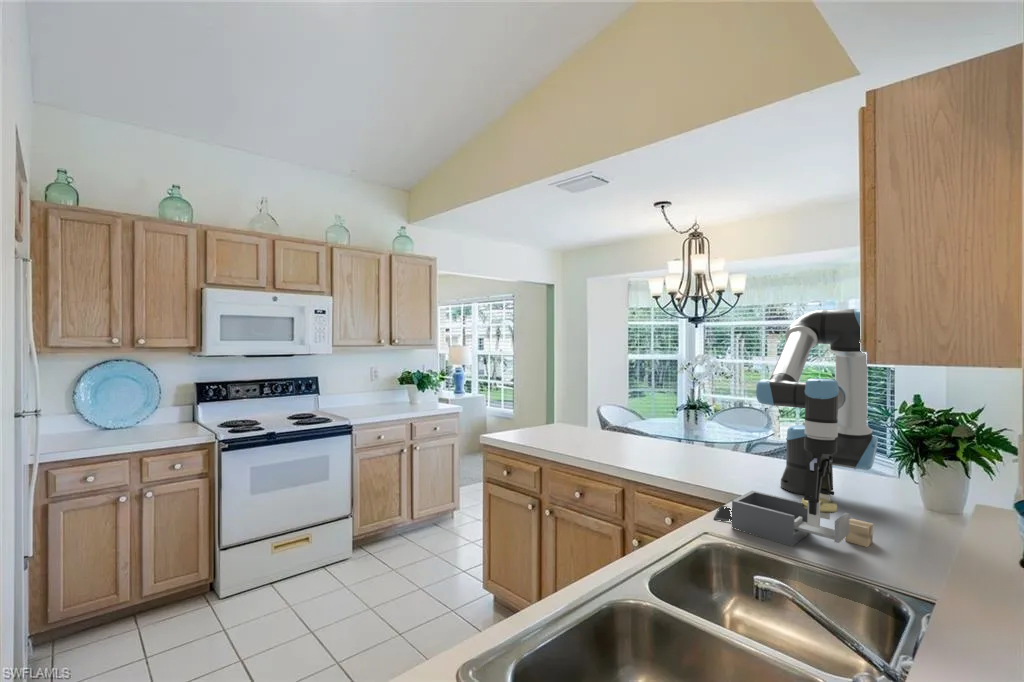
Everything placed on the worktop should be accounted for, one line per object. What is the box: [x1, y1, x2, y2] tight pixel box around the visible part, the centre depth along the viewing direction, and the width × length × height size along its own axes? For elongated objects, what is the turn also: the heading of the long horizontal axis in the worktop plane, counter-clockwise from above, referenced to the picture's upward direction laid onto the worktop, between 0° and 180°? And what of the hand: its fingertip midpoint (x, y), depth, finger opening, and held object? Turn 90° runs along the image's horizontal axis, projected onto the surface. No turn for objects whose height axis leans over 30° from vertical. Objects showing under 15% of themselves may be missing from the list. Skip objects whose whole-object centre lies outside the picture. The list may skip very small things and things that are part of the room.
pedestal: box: [845, 517, 874, 548], centre depth 134 cm, size 5×5×5 cm
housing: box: [731, 490, 809, 547], centre depth 142 cm, size 14×16×8 cm
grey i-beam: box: [794, 512, 850, 544], centre depth 133 cm, size 9×14×5 cm, turn 42°
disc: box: [801, 497, 838, 514], centre depth 132 cm, size 8×8×2 cm
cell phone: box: [713, 505, 732, 522], centre depth 153 cm, size 7×14×1 cm, turn 149°
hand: (818, 521), depth 132 cm, fingers closed on disc, 8 cm apart
